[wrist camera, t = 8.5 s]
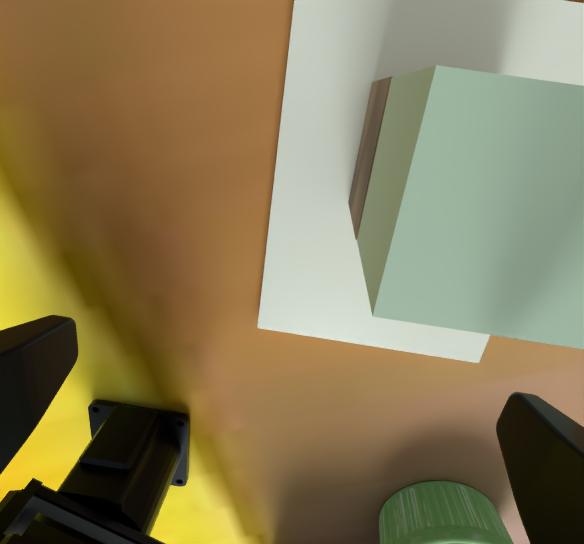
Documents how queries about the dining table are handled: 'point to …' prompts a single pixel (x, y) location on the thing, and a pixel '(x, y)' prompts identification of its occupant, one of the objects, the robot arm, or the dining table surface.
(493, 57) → the board
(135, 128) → the dining table surface
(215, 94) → the dining table surface
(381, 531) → the ramekin
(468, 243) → the sage block
